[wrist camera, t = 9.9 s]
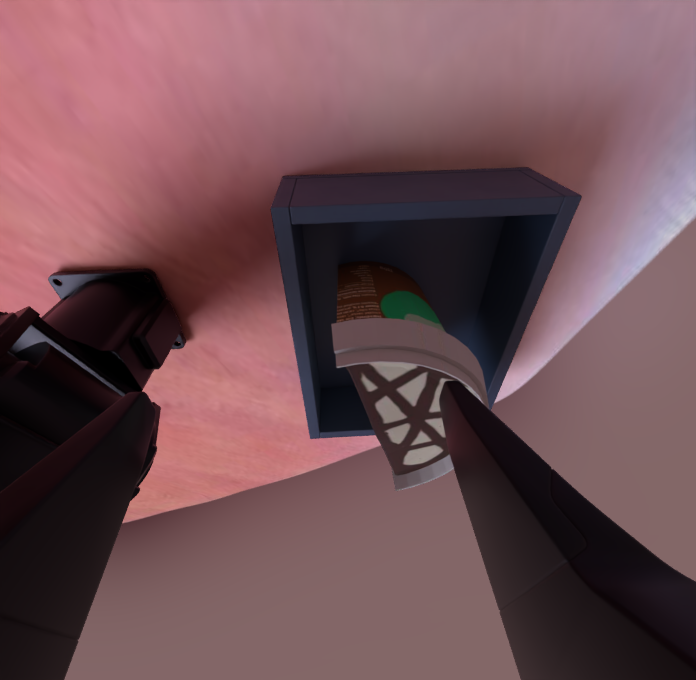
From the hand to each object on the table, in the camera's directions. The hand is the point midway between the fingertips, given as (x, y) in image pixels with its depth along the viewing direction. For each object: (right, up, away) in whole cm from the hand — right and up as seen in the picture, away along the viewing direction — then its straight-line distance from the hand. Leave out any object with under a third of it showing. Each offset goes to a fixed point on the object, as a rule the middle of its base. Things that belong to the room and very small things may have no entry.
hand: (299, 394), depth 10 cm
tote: (+5, +4, +14) cm, 15 cm away
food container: (+5, +4, +13) cm, 15 cm away
